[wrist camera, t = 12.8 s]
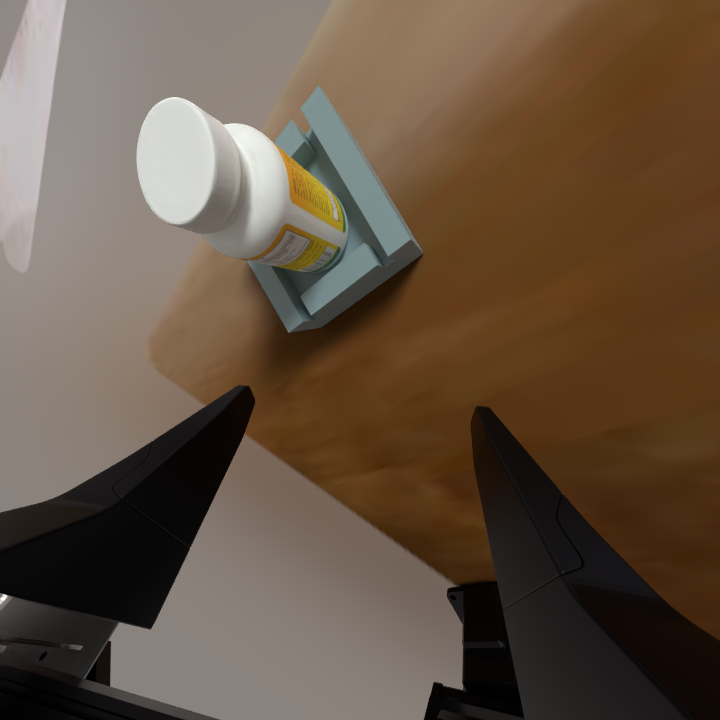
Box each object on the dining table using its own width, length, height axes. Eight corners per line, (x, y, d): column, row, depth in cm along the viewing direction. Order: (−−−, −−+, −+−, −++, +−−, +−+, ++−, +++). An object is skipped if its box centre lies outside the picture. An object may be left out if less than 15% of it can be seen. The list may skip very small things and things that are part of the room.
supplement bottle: (336, 284, 18) (215, 266, 9) (275, 260, 20) (121, 225, 11) (362, 199, 16) (242, 81, 8) (293, 179, 18) (126, 61, 9)
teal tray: (423, 253, 19) (410, 239, 14) (321, 327, 23) (288, 332, 19) (351, 132, 19) (319, 85, 15) (263, 228, 23) (218, 211, 19)
